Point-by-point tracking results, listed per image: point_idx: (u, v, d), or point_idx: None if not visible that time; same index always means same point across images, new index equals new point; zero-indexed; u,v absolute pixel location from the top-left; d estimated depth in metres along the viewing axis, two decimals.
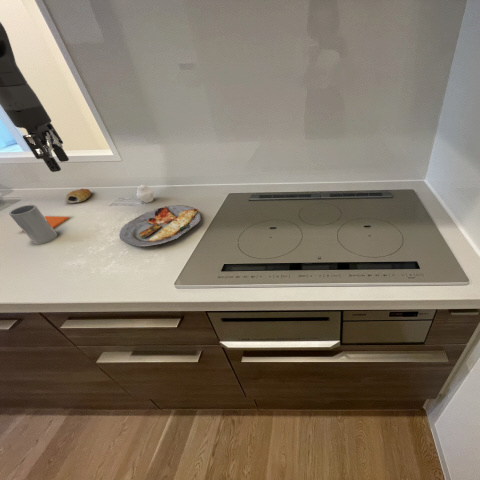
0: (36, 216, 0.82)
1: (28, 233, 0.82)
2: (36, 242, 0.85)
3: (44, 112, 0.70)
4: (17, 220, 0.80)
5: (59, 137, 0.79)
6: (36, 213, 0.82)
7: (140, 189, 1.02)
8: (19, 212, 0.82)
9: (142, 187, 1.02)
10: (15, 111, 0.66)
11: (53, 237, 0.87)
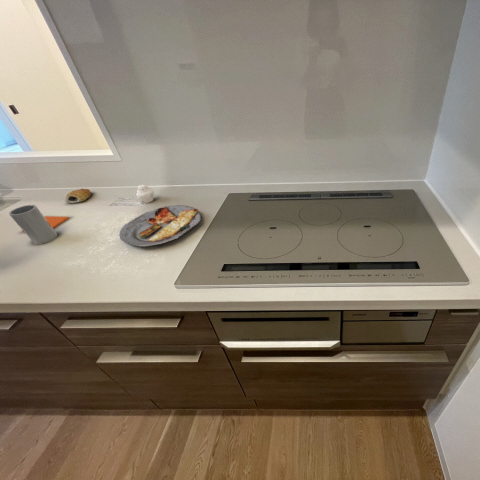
0: (36, 216, 0.82)
1: (28, 233, 0.82)
2: (36, 242, 0.85)
3: None
4: (17, 220, 0.80)
5: None
6: (36, 213, 0.82)
7: (140, 189, 1.02)
8: (19, 212, 0.82)
9: (142, 187, 1.02)
10: None
11: (53, 237, 0.87)
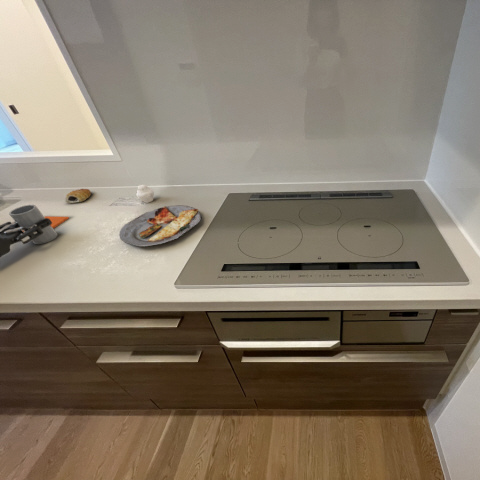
0: (36, 216, 0.82)
1: None
2: (36, 242, 0.85)
3: None
4: (17, 220, 0.80)
5: (38, 235, 0.80)
6: (36, 213, 0.82)
7: (140, 189, 1.02)
8: (19, 212, 0.82)
9: (142, 187, 1.02)
10: None
11: (53, 237, 0.87)
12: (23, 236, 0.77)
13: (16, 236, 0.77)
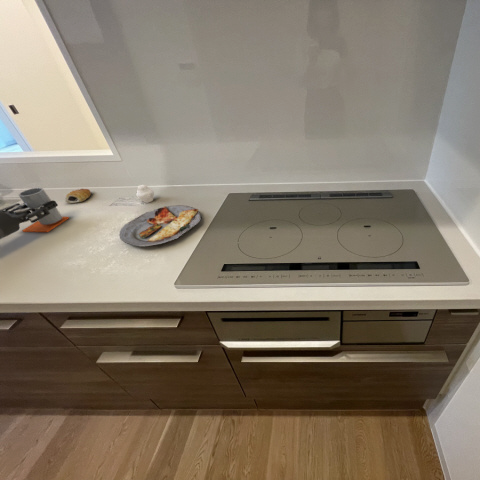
0: (43, 198, 0.88)
1: None
2: (42, 223, 0.91)
3: None
4: (26, 201, 0.86)
5: (45, 215, 0.86)
6: (43, 195, 0.88)
7: (140, 189, 1.02)
8: (27, 194, 0.88)
9: (142, 187, 1.02)
10: None
11: (58, 219, 0.93)
12: (31, 215, 0.83)
13: (25, 215, 0.83)
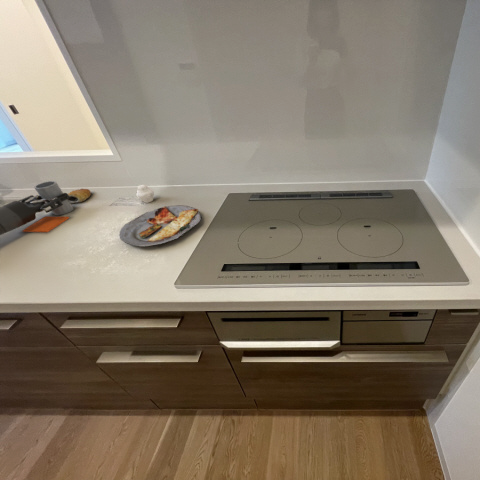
0: (56, 190, 0.96)
1: None
2: (56, 213, 0.99)
3: None
4: (41, 193, 0.94)
5: (58, 206, 0.95)
6: (56, 188, 0.96)
7: (140, 189, 1.02)
8: (42, 187, 0.96)
9: (142, 187, 1.02)
10: None
11: (70, 210, 1.01)
12: (46, 206, 0.91)
13: (40, 206, 0.91)
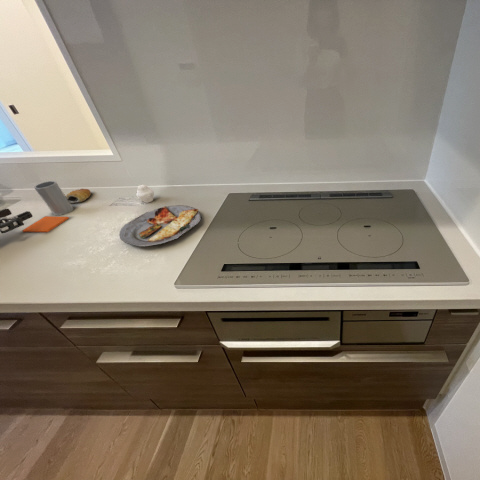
0: (56, 190, 0.96)
1: (49, 205, 0.97)
2: (56, 213, 0.99)
3: None
4: (41, 193, 0.94)
5: (18, 226, 0.85)
6: (56, 188, 0.96)
7: (140, 189, 1.02)
8: (42, 187, 0.96)
9: (142, 187, 1.02)
10: None
11: (70, 210, 1.01)
12: (2, 226, 0.81)
13: None
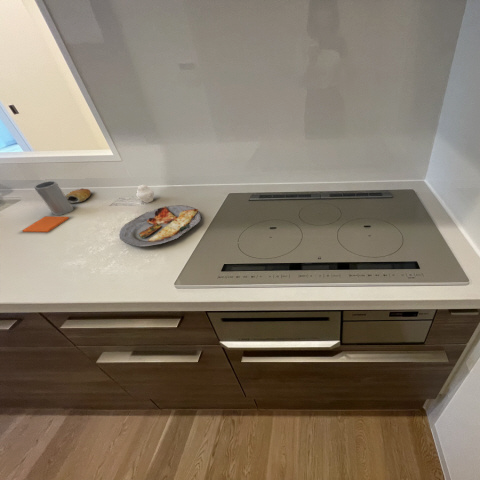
0: (56, 190, 0.96)
1: (49, 205, 0.97)
2: (56, 213, 0.99)
3: None
4: (41, 193, 0.94)
5: None
6: (56, 188, 0.96)
7: (140, 189, 1.02)
8: (42, 187, 0.96)
9: (142, 187, 1.02)
10: None
11: (70, 210, 1.01)
12: None
13: None
